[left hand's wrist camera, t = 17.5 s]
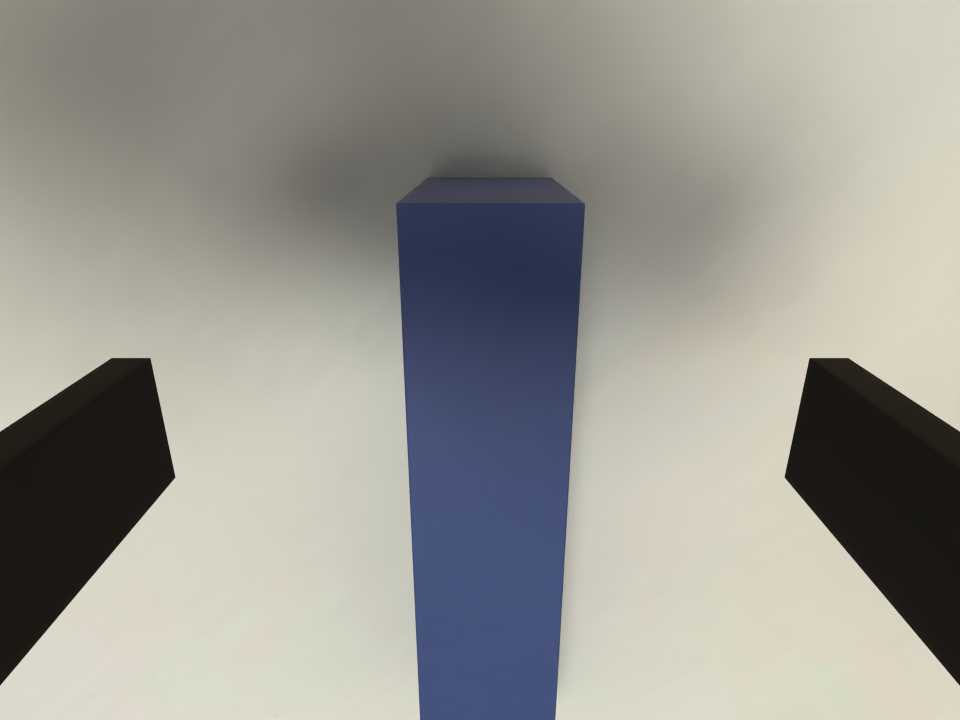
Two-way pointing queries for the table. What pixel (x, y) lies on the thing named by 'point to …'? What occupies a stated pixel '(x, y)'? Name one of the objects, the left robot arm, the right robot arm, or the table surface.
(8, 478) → the left robot arm
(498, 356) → the bar
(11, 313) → the table surface
